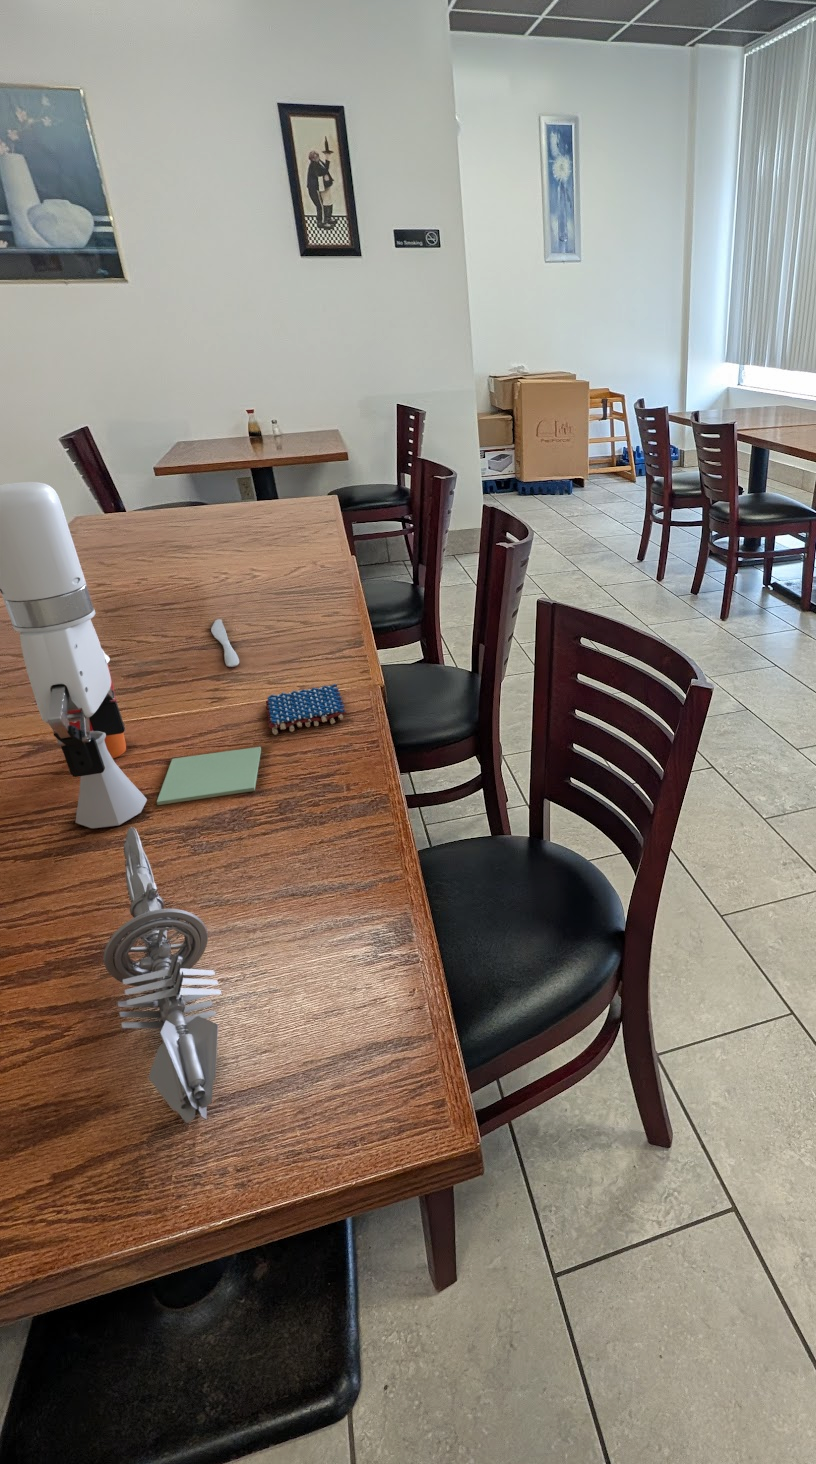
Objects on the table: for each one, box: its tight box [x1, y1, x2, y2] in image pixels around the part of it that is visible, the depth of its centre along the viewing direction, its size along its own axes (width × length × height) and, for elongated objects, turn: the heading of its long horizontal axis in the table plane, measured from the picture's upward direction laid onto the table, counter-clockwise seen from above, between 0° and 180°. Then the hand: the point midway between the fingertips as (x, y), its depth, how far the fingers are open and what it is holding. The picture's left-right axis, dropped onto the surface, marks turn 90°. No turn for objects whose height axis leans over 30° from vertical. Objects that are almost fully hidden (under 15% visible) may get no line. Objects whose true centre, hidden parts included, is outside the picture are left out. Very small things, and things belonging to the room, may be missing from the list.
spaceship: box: [103, 826, 222, 1124], centre depth 69 cm, size 8×35×8 cm
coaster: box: [156, 746, 262, 806], centre depth 103 cm, size 11×11×1 cm
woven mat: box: [265, 683, 347, 736], centre depth 118 cm, size 10×11×2 cm
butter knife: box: [210, 618, 240, 668], centre depth 145 cm, size 1×27×3 cm
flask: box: [75, 731, 148, 829], centre depth 93 cm, size 7×7×10 cm
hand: (100, 753), depth 92 cm, fingers open, 9 cm apart
